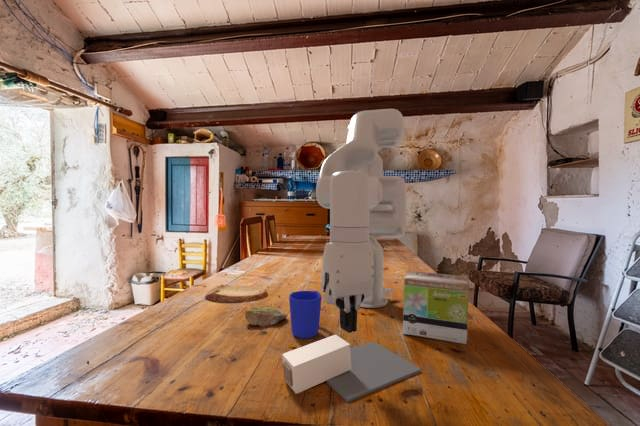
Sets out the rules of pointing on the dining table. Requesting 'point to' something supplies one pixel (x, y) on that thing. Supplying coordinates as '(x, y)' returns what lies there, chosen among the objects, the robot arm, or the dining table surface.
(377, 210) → the robot arm
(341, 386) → the mat
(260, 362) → the dining table surface
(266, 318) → the rock
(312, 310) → the mug
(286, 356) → the block
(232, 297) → the wood slice
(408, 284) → the tea box
